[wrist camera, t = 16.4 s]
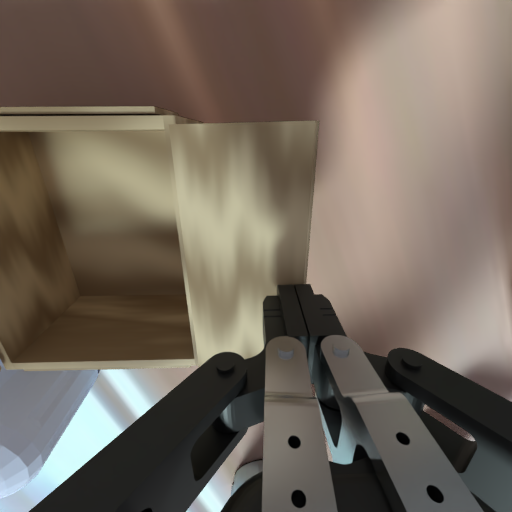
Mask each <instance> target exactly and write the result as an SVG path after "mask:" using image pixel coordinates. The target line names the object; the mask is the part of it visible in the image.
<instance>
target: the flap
mask: <svg viewBox="0 0 512 512" xmlns="http://www.w3.org/2000/svg"><path fill="white" fill-rule="evenodd" d="M318 130H319V121H280V122H242V123H204V124H169V132H170V140H171V148H172V156H173V164H174V172H175V180H176V188H177V196H178V204H179V212H180V220H181V228H182V236H183V245H184V253H185V261H186V269H187V277H188V285H189V293H190V301H191V309H192V317H193V325H194V333H195V341H196V349H197V357H198V365H199V367H200V366H201V365H203V364H204V363H205V362H206V361H207V360H208V359H210V358H211V357H212V356H214V355H216V354H218V353H221V352H234V353H237V354H239V355H241V356H242V357H243V358H244V359H247V358H251V357H253V356H256V355H257V354H259V353H260V352H261V351H262V350H263V349H264V341H263V301H264V299H265V298H266V296H273V295H277V285H289V284H293V285H294V284H306V278H307V266H308V254H309V241H310V229H311V217H312V204H313V192H314V179H315V167H316V155H317V142H318Z"/></svg>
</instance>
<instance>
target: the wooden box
mask: <svg viewBox="0 0 512 512" xmlns="http://www.w3.org/2000/svg"><path fill="white" fill-rule="evenodd" d="M169 124H204V122H200V121H196V120H192V119H188V118H184V117H180V116H178V113H176V112H172V111H169V110H165V109H162V108H158V107H155V106H119V107H0V359H1V361H2V363H3V365H4V367H5V369H6V370H15V369H24V371H58V370H101V369H144V368H187V367H191V365H198V357H197V349H196V341H195V333H194V325H193V317H192V309H191V301H190V293H189V285H188V277H187V269H186V261H185V253H184V245H183V236H182V228H181V220H180V212H179V204H178V196H177V188H176V180H175V172H174V164H173V156H172V148H171V140H170V132H169Z"/></svg>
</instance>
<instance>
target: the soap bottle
mask: <svg viewBox="0 0 512 512" xmlns="http://www.w3.org/2000/svg"><path fill="white" fill-rule="evenodd" d="M0 366H1V371H0V499H1V498H3V497H6V496H8V495H10V494H13V493H15V492H17V491H18V490H20V489H22V488H23V487H25V486H26V485H27V484H28V483H29V482H30V481H31V480H32V479H33V478H34V477H35V476H37V475H38V473H39V471H40V470H41V468H42V467H43V465H44V463H45V462H46V460H47V458H48V457H49V455H50V454H51V452H52V450H53V449H54V447H55V446H56V444H57V442H58V441H59V439H60V437H61V436H62V434H63V433H64V431H65V429H66V428H67V426H68V425H69V423H70V421H71V420H72V418H73V416H74V415H75V413H76V412H77V410H78V408H79V407H80V405H81V404H82V402H83V400H84V399H85V397H86V396H87V394H88V392H89V391H90V389H91V387H92V386H93V384H94V382H95V381H96V379H97V377H98V370H58V371H24V369H15V370H6V369H5V367H4V365H3V363H2V361H1V359H0Z"/></svg>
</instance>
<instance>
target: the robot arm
mask: <svg viewBox="0 0 512 512" xmlns="http://www.w3.org/2000/svg"><path fill="white" fill-rule="evenodd" d="M263 341H264V349H263V350H262V351H261V352H260V353H259V354H257V355H256V356H253V357H251V358H247V359H244V358H243V357H242V356H241V355H239V354H237V353H234V352H221V353H218V354H216V355H214V356H212V357H211V358H210V359H208V360H207V361H206V362H205V363H204V364H203V365H201V366H200V367H199V368H198V369H197V370H195V371H194V372H193V373H192V374H191V375H190V376H188V377H187V378H186V379H185V380H184V381H182V382H181V383H180V384H179V385H178V386H177V387H175V388H174V389H173V390H172V391H171V392H169V393H168V394H167V395H166V396H165V397H164V398H162V399H161V400H160V401H159V402H158V403H156V404H155V405H154V406H153V407H152V408H151V409H149V410H148V411H147V412H146V413H145V414H143V415H142V416H141V417H140V418H139V419H138V420H136V421H135V422H134V423H133V424H132V425H131V426H129V427H128V428H127V429H126V430H125V431H123V432H122V433H121V434H120V435H119V436H118V437H116V438H115V439H114V440H113V441H112V442H110V443H109V444H108V445H107V446H106V447H105V448H103V449H102V450H101V451H100V452H99V453H97V454H96V455H95V456H94V457H93V458H92V459H90V460H89V461H88V462H87V463H86V464H84V465H83V466H82V467H81V468H80V469H79V470H77V471H76V472H75V473H74V474H73V475H71V476H70V477H69V478H68V479H67V480H66V481H64V482H63V483H62V484H61V485H60V486H58V487H57V488H56V489H55V490H54V491H53V492H51V493H50V494H49V495H48V496H47V497H45V498H44V499H43V500H42V501H41V502H40V503H38V504H37V505H36V506H35V507H34V508H33V509H31V510H30V511H29V512H186V510H187V509H188V508H189V507H190V505H191V504H192V503H193V501H194V500H195V499H196V497H197V496H198V495H199V494H200V492H201V491H202V490H203V488H204V487H205V486H206V484H207V483H208V482H209V480H210V479H211V478H212V477H213V475H214V474H215V473H216V471H217V470H218V469H219V467H220V466H221V465H222V464H223V462H224V461H225V460H226V458H227V457H228V456H229V454H230V453H231V452H232V451H233V449H234V448H235V447H236V445H237V444H238V443H239V441H240V440H241V439H242V438H243V436H244V435H245V433H246V432H247V429H248V427H250V426H253V425H256V424H258V423H261V422H263V421H264V440H263V460H260V461H255V462H251V463H248V464H246V465H244V466H242V467H241V468H240V469H239V470H238V471H237V472H236V474H235V477H234V485H233V486H232V490H231V497H230V498H229V500H228V501H227V503H226V504H225V506H224V507H223V509H222V510H221V512H512V402H510V401H509V400H507V399H505V398H503V397H501V396H499V395H497V394H495V393H494V392H492V391H490V390H488V389H486V388H484V387H482V386H480V385H478V384H477V383H475V382H473V381H471V380H469V379H467V378H465V377H463V376H462V375H460V374H458V373H456V372H454V371H452V370H450V369H448V368H447V367H445V366H443V365H441V364H439V363H437V362H435V361H433V360H432V359H430V358H428V357H426V356H424V355H422V354H420V353H418V352H416V351H414V350H410V349H406V348H397V349H393V350H391V351H390V352H389V354H388V357H382V356H377V355H373V354H369V353H366V352H363V351H362V349H361V348H360V346H359V345H358V344H357V343H356V342H355V341H354V340H352V339H350V338H348V337H347V336H346V334H345V332H344V330H343V328H342V326H341V324H340V322H339V319H338V317H337V316H336V313H335V311H334V310H333V307H332V305H331V303H330V301H329V300H328V299H327V298H326V297H324V296H323V295H322V294H319V295H314V293H313V290H312V288H311V285H310V284H294V285H293V284H289V285H277V295H273V296H266V298H265V299H264V301H263ZM311 384H314V387H315V397H313V393H312V386H311ZM425 404H426V405H427V406H429V407H430V408H432V409H434V410H435V411H437V412H438V413H440V414H441V415H443V416H444V417H446V418H447V419H449V420H451V421H452V422H454V423H455V424H457V425H458V426H460V427H461V428H463V429H464V430H466V431H467V432H469V433H470V434H471V435H472V436H473V438H474V439H475V440H476V441H469V440H467V439H465V438H463V437H462V436H460V435H459V434H457V433H456V432H454V431H453V430H451V429H450V428H448V427H447V426H445V425H444V424H442V423H441V422H439V421H438V420H436V419H435V418H433V417H432V416H430V415H429V414H427V413H426V412H424V411H423V407H424V405H425ZM323 429H324V431H323ZM324 432H325V435H326V439H327V442H328V445H329V448H330V451H331V454H332V458H333V462H331V461H329V460H328V454H327V449H326V443H325V437H324Z"/></svg>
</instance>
